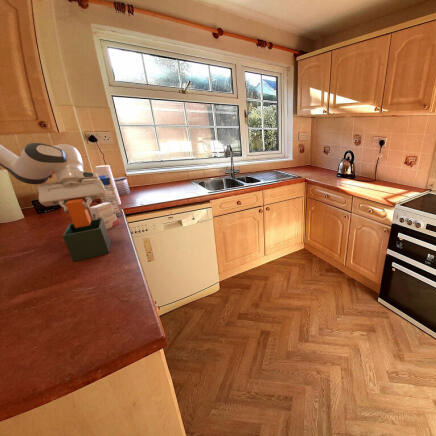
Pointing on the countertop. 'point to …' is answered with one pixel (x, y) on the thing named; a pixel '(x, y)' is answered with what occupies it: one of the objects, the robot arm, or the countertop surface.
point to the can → (122, 186)
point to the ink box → (105, 214)
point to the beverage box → (110, 194)
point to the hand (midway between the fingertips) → (77, 210)
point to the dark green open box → (87, 240)
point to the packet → (78, 212)
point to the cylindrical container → (107, 171)
